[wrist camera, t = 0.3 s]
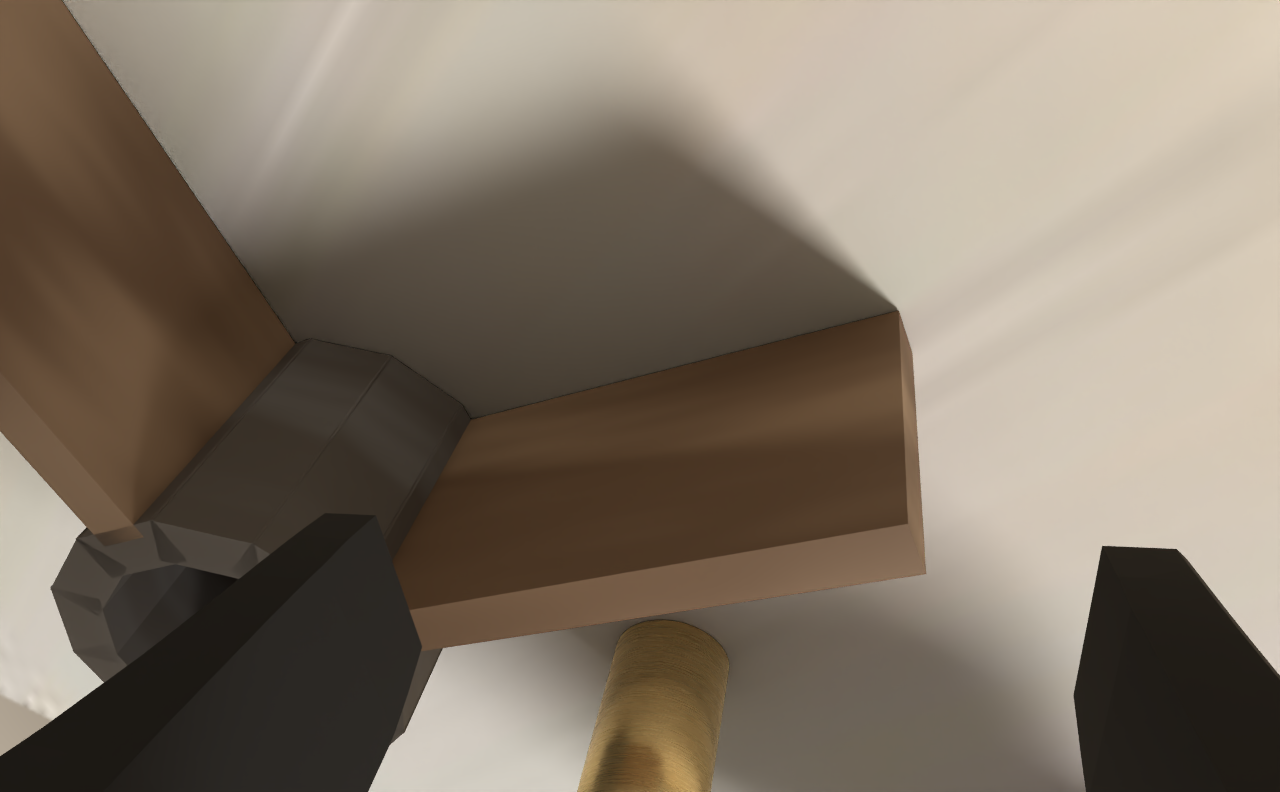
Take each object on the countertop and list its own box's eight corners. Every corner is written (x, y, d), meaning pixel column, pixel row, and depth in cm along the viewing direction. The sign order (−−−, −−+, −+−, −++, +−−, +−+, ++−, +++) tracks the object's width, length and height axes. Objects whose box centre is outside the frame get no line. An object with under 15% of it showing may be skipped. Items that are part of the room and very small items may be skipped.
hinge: (950, 470, 20) (973, 707, 16) (325, 589, 27) (205, 785, 22) (636, -513, 13) (490, -644, 8) (-147, -18, 19) (-495, 79, 14)
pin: (745, 690, 26) (709, 965, 20) (642, 702, 27) (582, 966, 21) (704, 612, 24) (654, 884, 19) (597, 628, 25) (520, 890, 20)
